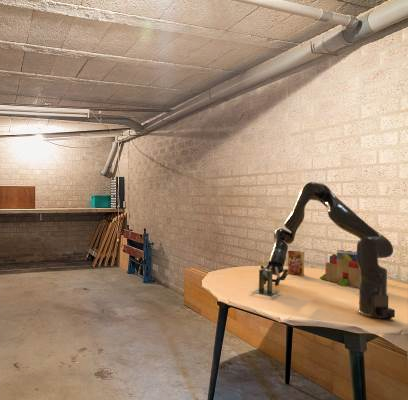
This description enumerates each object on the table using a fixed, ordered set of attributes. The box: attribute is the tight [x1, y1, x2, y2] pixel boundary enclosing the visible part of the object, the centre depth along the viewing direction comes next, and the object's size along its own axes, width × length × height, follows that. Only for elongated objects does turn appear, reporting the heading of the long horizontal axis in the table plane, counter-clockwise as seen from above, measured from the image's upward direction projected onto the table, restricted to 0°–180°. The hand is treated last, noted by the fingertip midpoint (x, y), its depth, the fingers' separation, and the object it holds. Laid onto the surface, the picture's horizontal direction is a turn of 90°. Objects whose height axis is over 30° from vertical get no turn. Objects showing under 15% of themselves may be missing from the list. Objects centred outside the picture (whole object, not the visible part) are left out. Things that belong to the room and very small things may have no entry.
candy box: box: [287, 249, 305, 276], centre depth 224 cm, size 9×4×15 cm, turn 43°
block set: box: [319, 252, 360, 289], centre depth 200 cm, size 28×14×19 cm, turn 21°
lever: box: [262, 269, 276, 283], centre depth 177 cm, size 12×5×2 cm, turn 137°
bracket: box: [250, 268, 281, 298], centre depth 174 cm, size 13×10×13 cm
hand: (270, 284), depth 179 cm, fingers closed on lever, 5 cm apart
